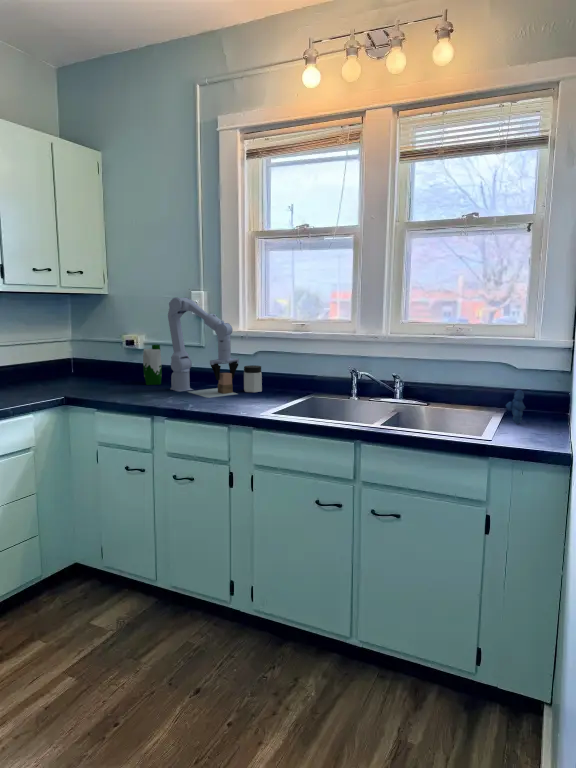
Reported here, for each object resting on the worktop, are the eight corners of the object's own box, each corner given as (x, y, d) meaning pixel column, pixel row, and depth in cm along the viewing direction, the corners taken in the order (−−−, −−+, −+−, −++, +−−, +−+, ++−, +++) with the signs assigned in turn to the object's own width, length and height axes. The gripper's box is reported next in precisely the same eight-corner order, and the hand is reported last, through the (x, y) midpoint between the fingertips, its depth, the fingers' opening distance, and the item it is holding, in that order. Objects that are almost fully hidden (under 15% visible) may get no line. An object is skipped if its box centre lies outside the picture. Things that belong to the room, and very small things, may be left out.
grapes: (504, 418, 199) (506, 386, 197) (524, 420, 196) (527, 387, 194) (503, 425, 188) (505, 391, 186) (524, 427, 185) (526, 392, 183)
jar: (243, 390, 259) (242, 365, 257) (259, 389, 261) (259, 365, 259) (245, 393, 250) (245, 367, 248) (262, 392, 252) (262, 367, 250)
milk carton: (162, 384, 275) (161, 345, 272) (144, 385, 273) (142, 346, 270) (161, 382, 284) (159, 344, 281) (143, 382, 281) (142, 344, 278)
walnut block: (217, 392, 251) (217, 383, 250) (227, 391, 254) (226, 382, 253) (223, 393, 247) (223, 385, 246) (232, 392, 250) (232, 384, 249)
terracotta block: (218, 383, 250) (218, 373, 249) (227, 382, 253) (226, 372, 252) (223, 385, 247) (223, 374, 246) (232, 384, 249) (231, 373, 248)
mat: (187, 392, 253) (187, 391, 253) (216, 388, 262) (216, 388, 262) (208, 398, 237) (208, 397, 237) (238, 394, 247) (238, 393, 247)
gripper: (215, 351, 240) (215, 381, 242) (242, 349, 248) (242, 378, 251) (207, 350, 245) (207, 379, 247) (234, 348, 254) (234, 376, 256)
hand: (224, 379), depth 249 cm, fingers open, 7 cm apart
